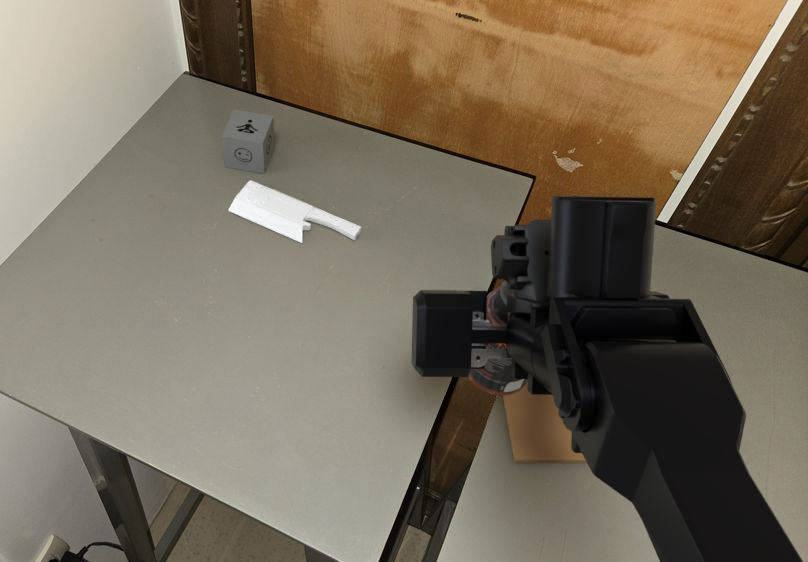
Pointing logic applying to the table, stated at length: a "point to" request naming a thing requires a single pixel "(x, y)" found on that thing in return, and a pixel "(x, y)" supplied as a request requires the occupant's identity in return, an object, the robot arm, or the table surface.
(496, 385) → the supplement bottle
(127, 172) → the table surface
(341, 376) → the table surface
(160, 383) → the table surface
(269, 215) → the white plastic blade
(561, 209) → the robot arm
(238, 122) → the dice cube
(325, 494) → the table surface
